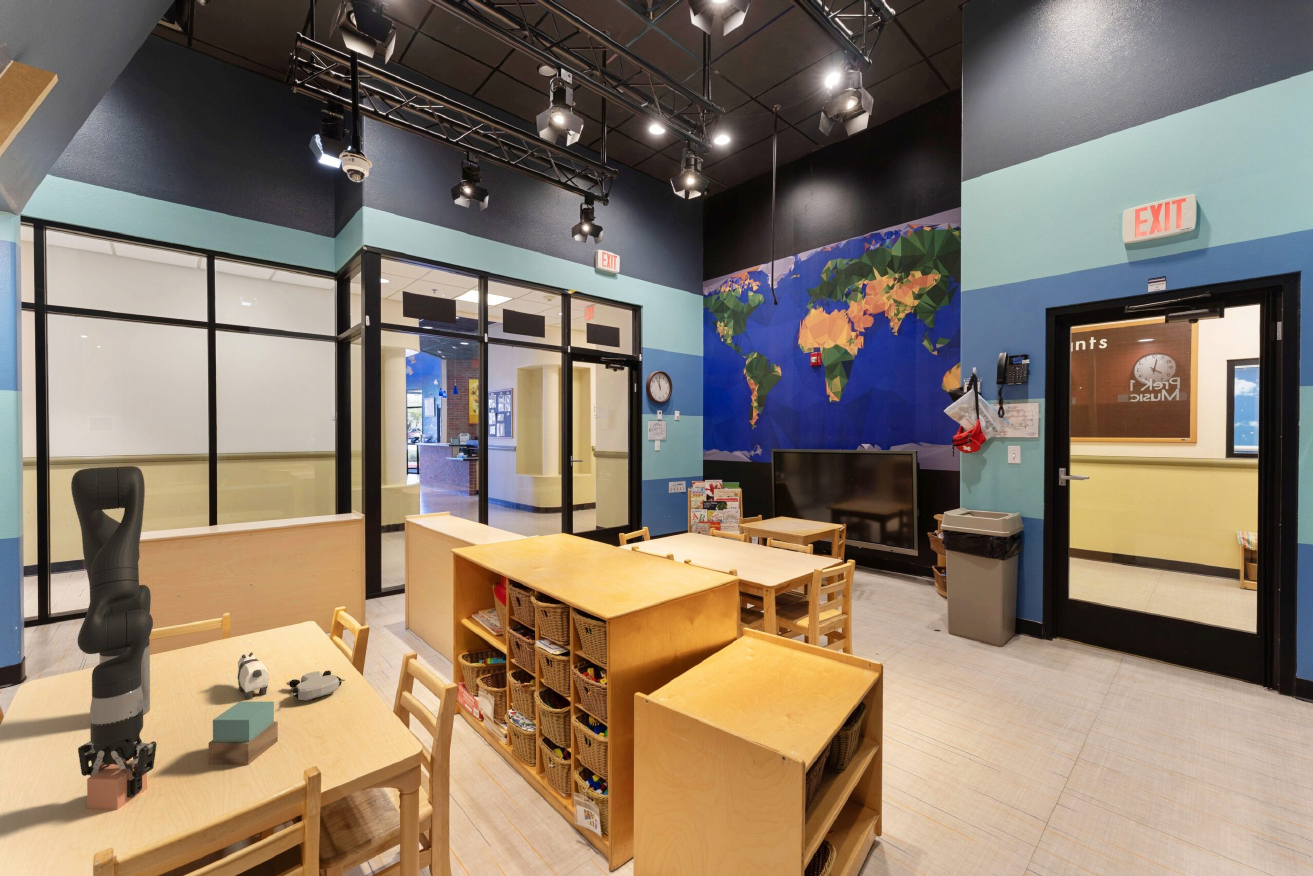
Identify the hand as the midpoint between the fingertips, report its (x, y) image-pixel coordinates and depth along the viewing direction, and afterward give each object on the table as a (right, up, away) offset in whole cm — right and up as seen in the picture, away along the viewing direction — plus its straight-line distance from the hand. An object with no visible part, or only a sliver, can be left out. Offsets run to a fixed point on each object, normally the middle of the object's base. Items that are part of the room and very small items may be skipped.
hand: (118, 794), depth 108 cm
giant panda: (-6, 0, +44) cm, 45 cm away
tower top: (+13, +4, +16) cm, 21 cm away
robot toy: (+12, 0, +44) cm, 45 cm away
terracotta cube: (0, -1, 0) cm, 1 cm away
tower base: (+13, -1, +16) cm, 21 cm away
